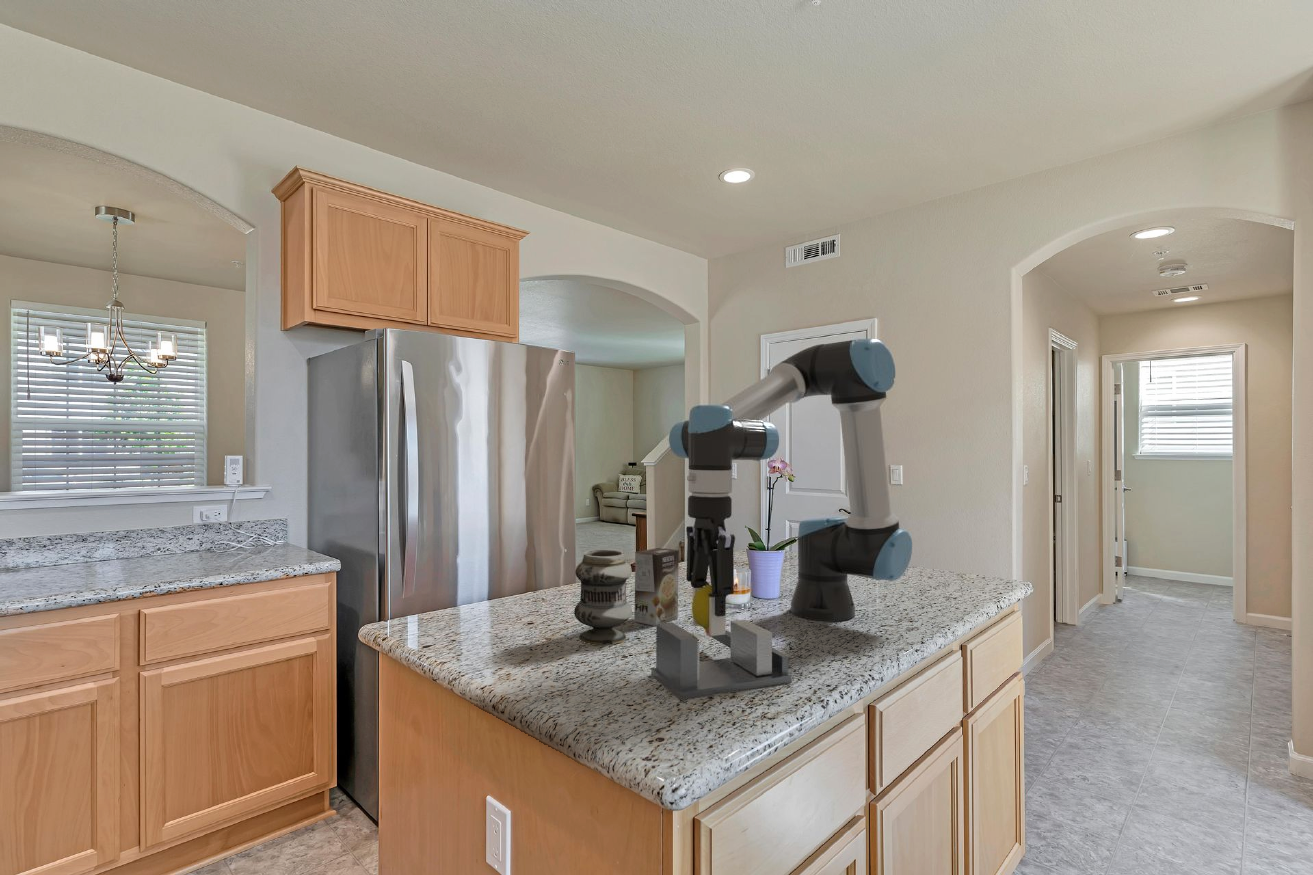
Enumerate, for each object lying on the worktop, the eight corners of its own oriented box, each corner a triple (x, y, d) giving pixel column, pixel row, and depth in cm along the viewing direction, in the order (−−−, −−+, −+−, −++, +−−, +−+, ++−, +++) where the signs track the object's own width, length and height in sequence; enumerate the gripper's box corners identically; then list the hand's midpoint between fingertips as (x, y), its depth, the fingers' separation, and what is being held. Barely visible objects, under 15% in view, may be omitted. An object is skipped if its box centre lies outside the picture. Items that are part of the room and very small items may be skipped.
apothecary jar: (583, 650, 127) (584, 558, 127) (567, 633, 138) (567, 549, 138) (640, 643, 132) (641, 554, 132) (620, 627, 143) (620, 546, 143)
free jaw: (715, 640, 129) (715, 605, 130) (771, 673, 111) (772, 632, 111) (702, 641, 128) (702, 606, 128) (756, 675, 109) (757, 634, 110)
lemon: (706, 624, 115) (706, 579, 115) (730, 631, 111) (731, 584, 111) (684, 630, 111) (685, 583, 111) (709, 637, 107) (710, 589, 107)
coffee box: (656, 626, 144) (656, 554, 144) (633, 622, 148) (634, 551, 148) (679, 618, 151) (679, 549, 152) (656, 613, 155) (657, 546, 155)
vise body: (754, 660, 121) (754, 611, 122) (791, 682, 110) (791, 628, 111) (651, 675, 113) (651, 622, 113) (680, 700, 102) (680, 641, 102)
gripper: (668, 491, 118) (666, 618, 118) (716, 499, 101) (714, 647, 101) (704, 490, 121) (703, 614, 121) (757, 498, 104) (756, 642, 104)
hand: (708, 629), depth 111 cm, fingers closed on lemon, 5 cm apart
